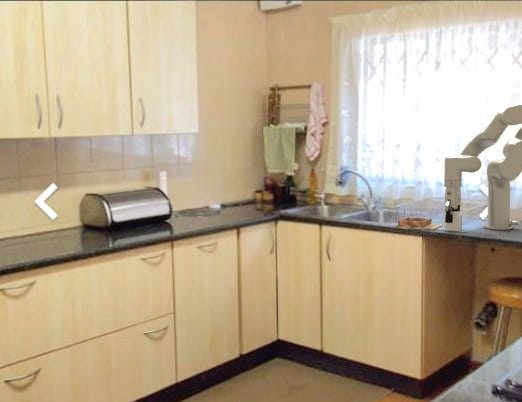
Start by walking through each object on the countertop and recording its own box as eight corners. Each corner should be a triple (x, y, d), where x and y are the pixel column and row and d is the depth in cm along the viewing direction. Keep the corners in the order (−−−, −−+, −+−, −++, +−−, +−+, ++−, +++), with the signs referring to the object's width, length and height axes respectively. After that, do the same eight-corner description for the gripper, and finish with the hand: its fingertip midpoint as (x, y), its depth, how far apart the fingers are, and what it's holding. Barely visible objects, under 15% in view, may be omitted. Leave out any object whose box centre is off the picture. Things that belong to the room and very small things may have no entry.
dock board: (442, 226, 305) (442, 218, 304) (432, 230, 293) (432, 223, 293) (406, 223, 315) (406, 216, 314) (395, 228, 303) (395, 220, 303)
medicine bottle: (461, 231, 291) (461, 204, 289) (445, 230, 292) (445, 204, 291) (460, 228, 298) (460, 202, 296) (444, 228, 299) (444, 202, 298)
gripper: (455, 185, 283) (454, 224, 285) (466, 182, 298) (465, 219, 300) (438, 184, 288) (437, 223, 290) (450, 181, 302) (449, 218, 304)
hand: (452, 221), depth 295 cm, fingers closed on medicine bottle, 8 cm apart
